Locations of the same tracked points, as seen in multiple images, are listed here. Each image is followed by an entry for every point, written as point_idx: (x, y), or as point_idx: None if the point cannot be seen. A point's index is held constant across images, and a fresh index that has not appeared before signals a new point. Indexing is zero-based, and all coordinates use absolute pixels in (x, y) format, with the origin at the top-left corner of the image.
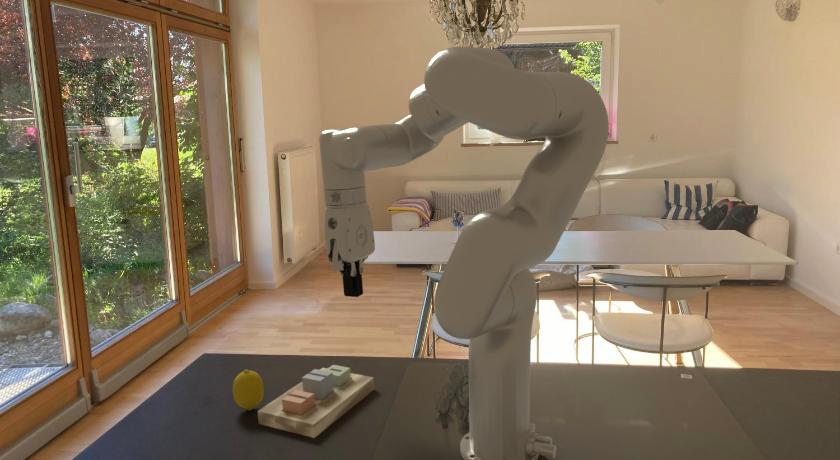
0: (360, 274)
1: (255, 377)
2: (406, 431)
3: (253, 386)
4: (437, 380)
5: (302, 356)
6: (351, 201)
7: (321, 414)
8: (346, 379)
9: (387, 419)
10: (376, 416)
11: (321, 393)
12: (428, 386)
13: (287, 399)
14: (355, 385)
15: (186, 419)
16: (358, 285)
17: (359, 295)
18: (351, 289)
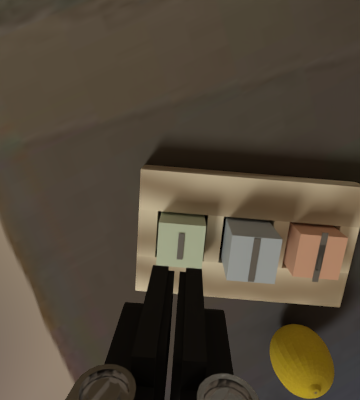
0: (151, 357)
1: (314, 364)
2: (292, 18)
3: (322, 351)
4: (52, 45)
5: (66, 359)
6: None
7: (327, 193)
8: (177, 217)
9: (255, 80)
10: (250, 108)
11: (271, 228)
12: (88, 54)
13: (336, 270)
14: (190, 188)
15: (338, 396)
16: (196, 306)
17: (193, 268)
18: (225, 325)
